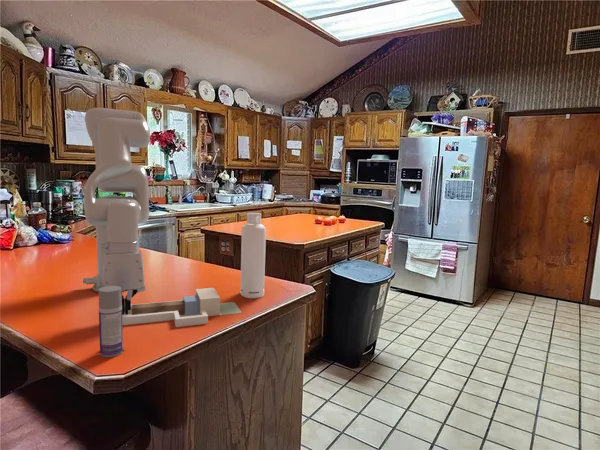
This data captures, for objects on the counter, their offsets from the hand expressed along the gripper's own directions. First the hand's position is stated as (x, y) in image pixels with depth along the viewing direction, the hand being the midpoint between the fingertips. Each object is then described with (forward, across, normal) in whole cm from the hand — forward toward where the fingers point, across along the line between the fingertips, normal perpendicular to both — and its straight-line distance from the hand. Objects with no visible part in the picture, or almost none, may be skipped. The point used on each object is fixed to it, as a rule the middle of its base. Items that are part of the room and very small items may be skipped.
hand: (124, 312), depth 107 cm
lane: (+2, +15, -2) cm, 15 cm away
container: (+2, -2, -20) cm, 20 cm away
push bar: (+2, +9, 0) cm, 9 cm away
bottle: (+2, +40, +13) cm, 42 cm away
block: (+2, +18, 0) cm, 18 cm away
